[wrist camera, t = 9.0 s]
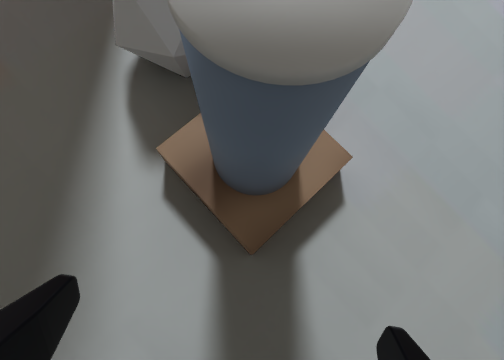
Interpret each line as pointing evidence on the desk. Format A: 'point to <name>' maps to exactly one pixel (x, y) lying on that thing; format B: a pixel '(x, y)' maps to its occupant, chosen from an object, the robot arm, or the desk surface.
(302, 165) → the base slab
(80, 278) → the desk surface
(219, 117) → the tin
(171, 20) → the die
